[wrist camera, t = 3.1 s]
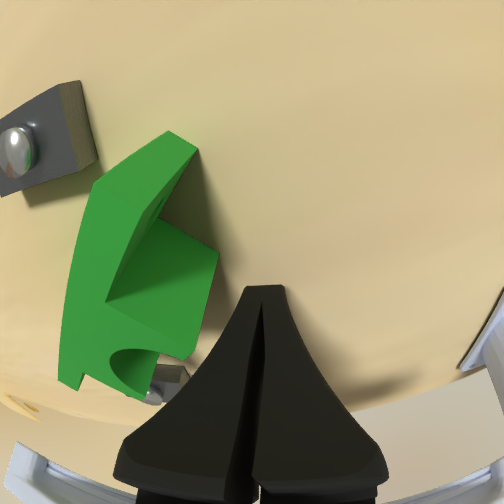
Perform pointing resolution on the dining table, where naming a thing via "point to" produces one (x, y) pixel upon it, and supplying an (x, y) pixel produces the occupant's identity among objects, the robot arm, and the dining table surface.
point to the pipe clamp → (134, 275)
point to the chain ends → (62, 173)
